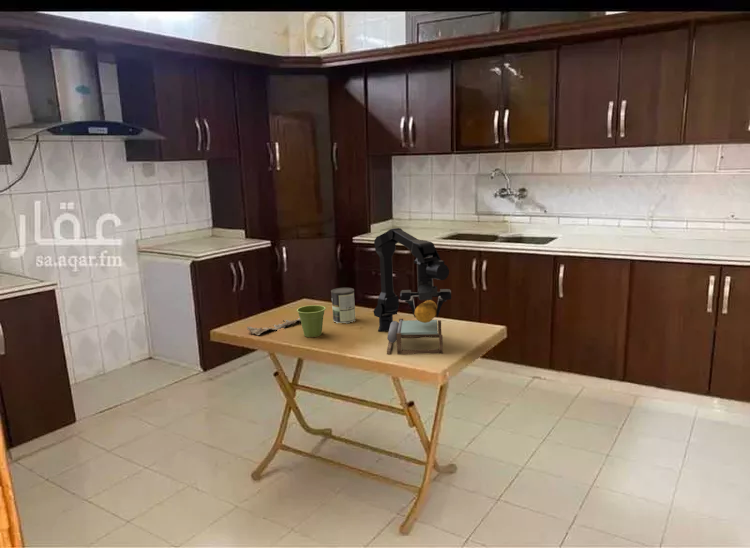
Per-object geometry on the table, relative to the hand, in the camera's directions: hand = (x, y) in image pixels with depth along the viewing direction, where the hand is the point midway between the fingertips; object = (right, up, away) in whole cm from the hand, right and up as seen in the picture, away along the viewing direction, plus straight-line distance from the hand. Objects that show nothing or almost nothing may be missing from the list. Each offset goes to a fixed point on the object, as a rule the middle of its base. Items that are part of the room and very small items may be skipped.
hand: (426, 317), depth 205 cm
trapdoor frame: (-4, -11, +2) cm, 12 cm away
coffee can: (-33, -5, +41) cm, 53 cm away
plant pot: (-45, -9, +21) cm, 50 cm away
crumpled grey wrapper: (-59, -7, +38) cm, 71 cm away
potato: (0, -2, 0) cm, 2 cm away
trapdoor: (-5, -7, +2) cm, 9 cm away
